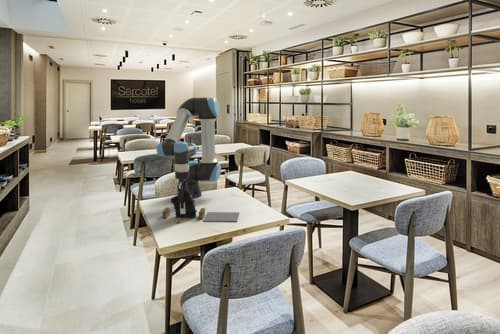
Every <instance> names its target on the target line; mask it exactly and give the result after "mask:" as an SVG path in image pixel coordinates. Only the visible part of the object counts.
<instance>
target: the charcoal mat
mask: <svg viewBox="0 0 500 334" xmlns="http://www.w3.org/2000/svg"><path fill="white" fill-rule="evenodd" d="M239 217H240V212H238V211H237V212H235V211H233V212H232V211H231V212H230V211H228V212H227V211H224V212H223V211H207V213H206V214H205V216H204V218H203V219H202V220H203V221H202V222H205V223H207V222H208V223H212V222H215V223H216V222H217V223H218V222H219V223H221V222H222V223H237V222H238V220H239Z"/></svg>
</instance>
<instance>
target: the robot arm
mask: <svg viewBox="0 0 500 334" xmlns="http://www.w3.org/2000/svg"><path fill="white" fill-rule="evenodd" d="M220 108H221V107H220V104H219V101H218V99H217V98H215V97H209V96H208V97H190V98H188V99H186V100H185V101H184V102H182V104H180V106H179V107H178V108H177V111H176V117H175V119H174V121H173V123H172V125H171V127H170V129H169V131H168V134H167V135H166V137H165V140H164V142H159V143H158V144H157V145H156V153H157V155H158V156H160V157H173V159H174V164H173V167H174V171H175V172H174V177H175V179H177V180H178V182H177V195H178V200H179V202H178V203H180V214H186V212H185V201H184V192H186V191H188V190H189V191H191V195H192V197H193V199H196V198H200V197H201V196H202V195H203V191H202V189H201V186H200V183H199V182H210V183H212V182H218V180H219V178H220V176H221V173H222V166H221V164H220V163H219V162H218V161H219V160H218V159H216V140H215V139H216V134H215V133H216V130H215V129H216V128H215V127H216V126H215V122H216V121H217V118H218V117H219V116H220V113H221V109H220ZM193 117H198V118H197V119H198V120H199V121H200V128H201V129H200V130H201V131H200V133H201V136H200V137H201V159H200V160H199V161H198V160H190V158H191V157H194V156H195V155H197V153H198V146H197V144H195V143H194V142H187V141H180V140H181V138H182V136H183V133H184V132H185V129H186V126H187V125H188V122H189V121H190V120H191V119H192V118H193Z"/></svg>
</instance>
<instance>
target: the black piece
mask: <svg viewBox="0 0 500 334" xmlns="http://www.w3.org/2000/svg"><path fill="white" fill-rule="evenodd" d="M184 201H185V212H186V214H180V203H178V202H179V200H178V194H177V195H175V196H173V197H172V198H171V199H170V202H171V203H172V205H173V206H174V207H173V210H175V213H174V216H175V218H181V219H182V218H183V219H184V218H187V219H195V218H196V217H197V212H198V211H197V209H196V204H195V201H196V200H195V199H194V198H193V197H192V195H191V191H189V190H188V191H186V192H184Z"/></svg>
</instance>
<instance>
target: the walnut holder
mask: <svg viewBox="0 0 500 334" xmlns="http://www.w3.org/2000/svg"><path fill="white" fill-rule="evenodd" d="M170 211H171V210H170V207H165V208H164V209H163V210H162V212H161V213H162V220H167V219H168V217H169V216H170V214H171V213H170ZM205 216H206V208H204V207H202V208H200V209H199V211H198V219H199V220H204V218H205Z"/></svg>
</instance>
